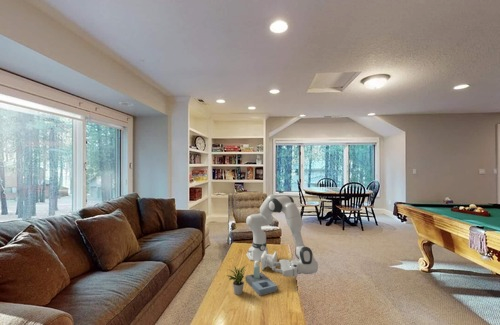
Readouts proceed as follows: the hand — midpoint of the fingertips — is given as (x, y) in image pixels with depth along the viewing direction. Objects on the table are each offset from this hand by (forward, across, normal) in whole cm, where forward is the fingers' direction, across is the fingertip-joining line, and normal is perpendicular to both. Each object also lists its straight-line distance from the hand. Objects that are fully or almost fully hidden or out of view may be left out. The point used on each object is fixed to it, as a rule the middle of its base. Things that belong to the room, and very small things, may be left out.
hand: (274, 267), depth 168 cm
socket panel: (+10, +5, +10) cm, 15 cm away
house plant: (+24, +12, +10) cm, 29 cm away
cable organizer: (+2, -23, +10) cm, 25 cm away
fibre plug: (+12, 0, +10) cm, 16 cm away
